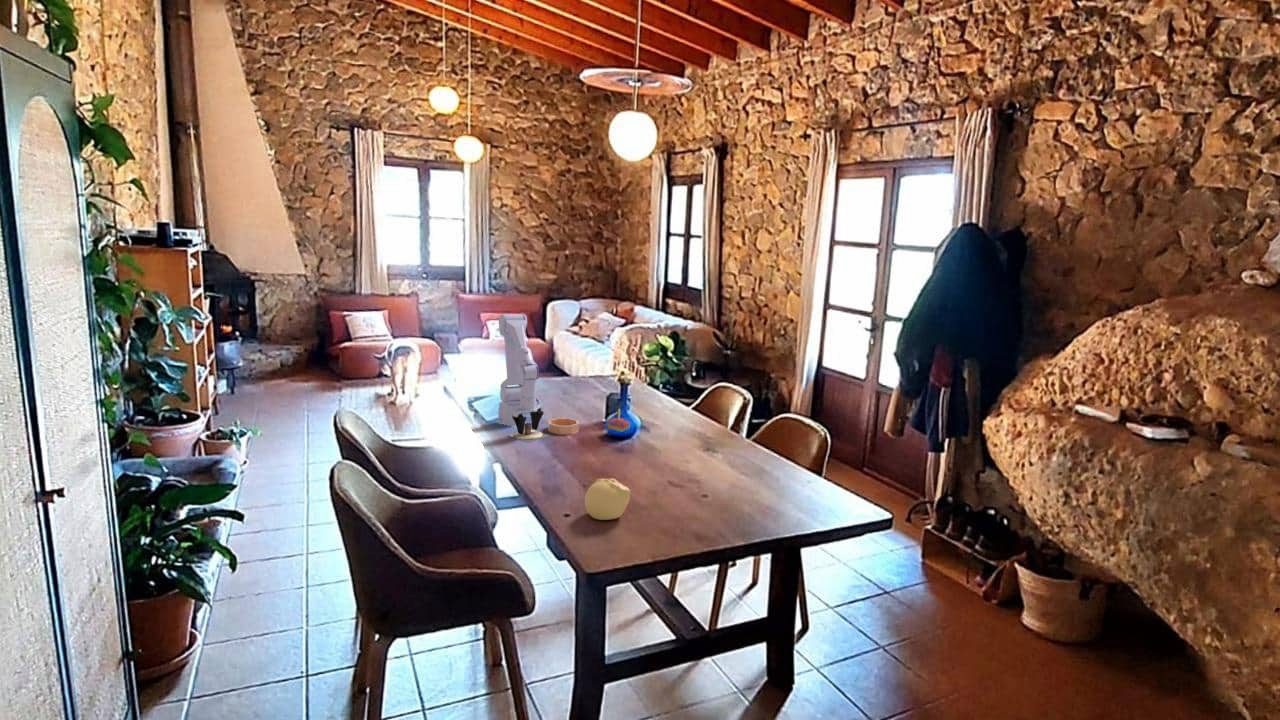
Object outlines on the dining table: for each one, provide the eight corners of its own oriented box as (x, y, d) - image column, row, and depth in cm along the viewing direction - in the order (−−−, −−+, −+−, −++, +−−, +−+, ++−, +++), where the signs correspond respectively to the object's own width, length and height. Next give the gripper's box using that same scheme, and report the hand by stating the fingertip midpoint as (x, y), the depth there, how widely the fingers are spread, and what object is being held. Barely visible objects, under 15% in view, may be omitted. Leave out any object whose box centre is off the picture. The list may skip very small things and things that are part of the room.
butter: (635, 516, 206) (636, 480, 204) (605, 528, 198) (606, 490, 195) (606, 504, 214) (607, 469, 212) (576, 515, 205) (577, 479, 203)
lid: (506, 435, 273) (506, 423, 272) (526, 429, 282) (526, 418, 281) (528, 441, 267) (528, 429, 266) (548, 435, 276) (548, 423, 275)
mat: (504, 436, 273) (504, 435, 273) (526, 430, 283) (526, 429, 283) (528, 443, 267) (528, 442, 267) (550, 436, 276) (550, 435, 276)
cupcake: (629, 440, 277) (630, 409, 274) (606, 438, 277) (607, 408, 274) (629, 433, 285) (631, 403, 283) (608, 432, 285) (609, 402, 283)
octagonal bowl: (541, 430, 283) (541, 422, 282) (561, 424, 292) (561, 416, 292) (565, 437, 276) (565, 428, 275) (585, 430, 286) (585, 421, 285)
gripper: (522, 401, 264) (522, 437, 266) (549, 395, 276) (548, 429, 278) (508, 398, 268) (508, 433, 270) (535, 391, 279) (534, 425, 282)
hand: (527, 431), depth 274 cm, fingers open, 7 cm apart
